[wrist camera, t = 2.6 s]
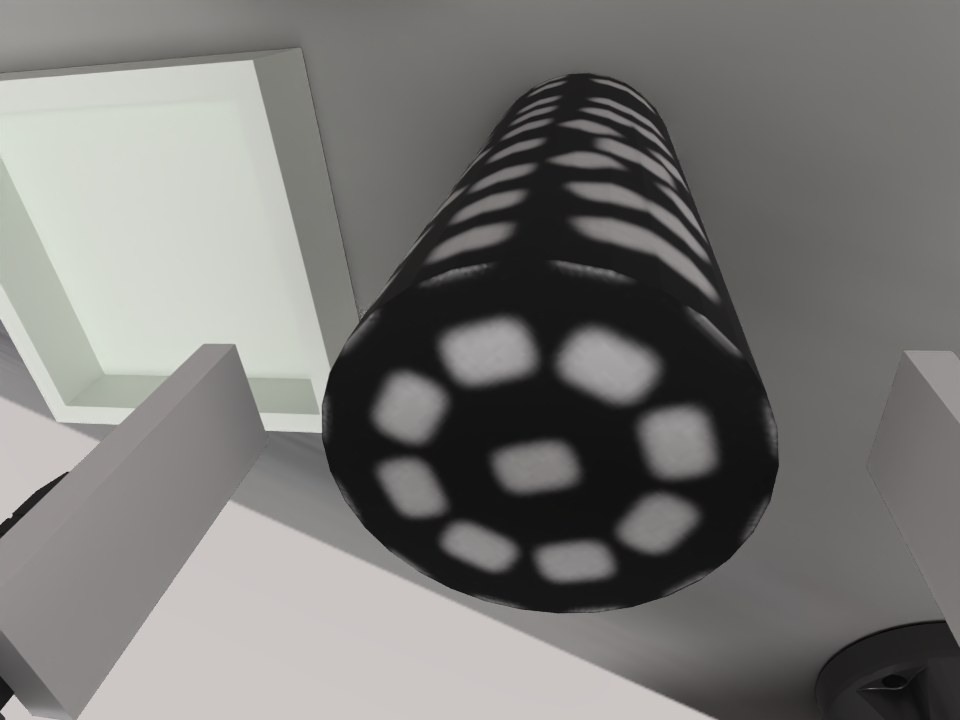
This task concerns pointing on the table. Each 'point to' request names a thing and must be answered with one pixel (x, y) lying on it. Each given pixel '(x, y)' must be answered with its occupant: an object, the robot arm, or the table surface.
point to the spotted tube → (557, 373)
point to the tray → (170, 232)
